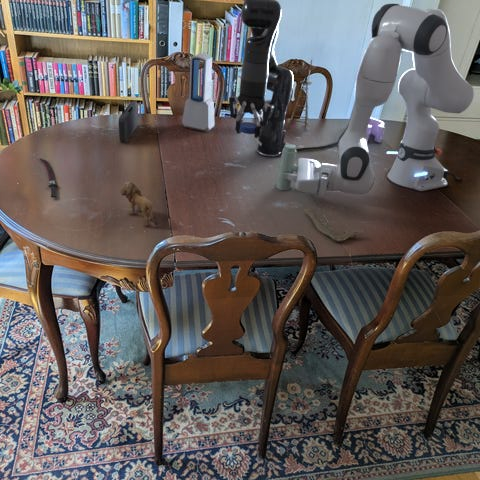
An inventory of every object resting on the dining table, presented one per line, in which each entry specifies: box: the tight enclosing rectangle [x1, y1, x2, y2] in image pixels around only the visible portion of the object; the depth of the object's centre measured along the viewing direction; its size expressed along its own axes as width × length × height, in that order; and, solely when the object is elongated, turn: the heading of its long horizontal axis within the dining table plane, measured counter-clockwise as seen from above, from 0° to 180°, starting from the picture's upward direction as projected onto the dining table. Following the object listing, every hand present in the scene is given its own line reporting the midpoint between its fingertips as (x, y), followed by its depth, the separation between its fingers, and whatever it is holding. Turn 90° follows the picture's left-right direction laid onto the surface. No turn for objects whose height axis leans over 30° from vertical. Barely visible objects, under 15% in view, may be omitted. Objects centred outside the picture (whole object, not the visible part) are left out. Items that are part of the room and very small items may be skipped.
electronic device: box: [181, 53, 216, 133], centre depth 194 cm, size 12×8×30 cm, turn 71°
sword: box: [40, 158, 59, 198], centre depth 151 cm, size 31×3×1 cm, turn 26°
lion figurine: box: [119, 181, 159, 227], centre depth 134 cm, size 15×5×9 cm, turn 50°
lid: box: [239, 121, 257, 135], centre depth 140 cm, size 5×5×2 cm
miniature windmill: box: [288, 59, 313, 132], centre depth 208 cm, size 9×8×30 cm
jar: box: [276, 143, 298, 192], centre depth 157 cm, size 5×5×15 cm
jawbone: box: [303, 208, 364, 243], centre depth 139 cm, size 9×20×2 cm, turn 50°
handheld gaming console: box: [117, 101, 139, 143], centre depth 187 cm, size 23×3×10 cm, turn 178°
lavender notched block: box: [366, 116, 386, 143], centre depth 214 cm, size 20×12×7 cm, turn 11°
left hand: (248, 134), depth 141 cm, fingers closed on lid, 5 cm apart
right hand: (283, 170), depth 158 cm, fingers closed on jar, 5 cm apart
